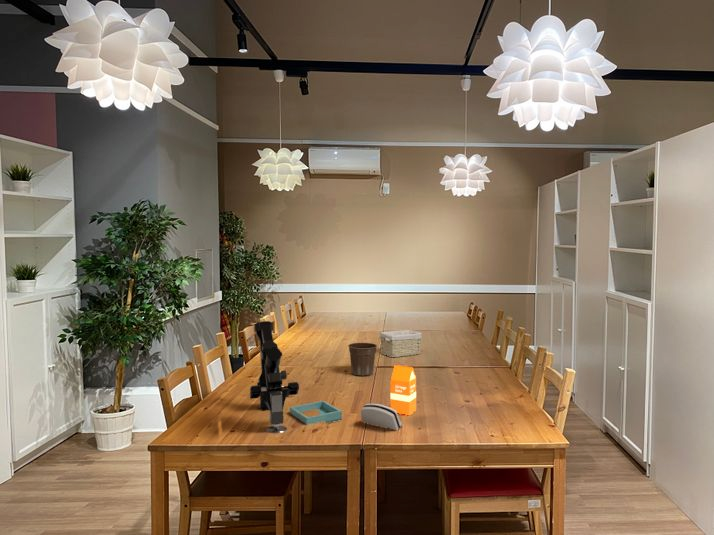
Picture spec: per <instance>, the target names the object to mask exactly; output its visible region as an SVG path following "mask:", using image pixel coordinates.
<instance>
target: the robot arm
mask: <svg viewBox="0 0 714 535" xmlns="http://www.w3.org/2000/svg"><path fill="white" fill-rule="evenodd" d="M273 331H274V322H272V321H269V320H266V321H265V320H264V321H262V320H261V321H256V323H253V332H254V334H255V338H256V339H257V340H258V342H259V353H260V354H259V355H260V369H261V370H260V371H261V373H260V374H259V377H258V380H257V381H258V382H256V385H251V386H250V387H249V399H251V400H252V399H253V400H255V399H260V400H259V404H258V405H257V408H258V407H259V408H258V409H260V410H261V409H262V410H261V411H266V410H267V411H268V409H269V412H270V411H272V409H271V402H270V393H274V392H281V394H282V410H284V407H285V402H286V399H287V398H289V396H294V395H298V394H299V391H300V390H299V389H300V386H299V382H298V381H292V382H288V383H287V385H286V386H282V385H283V380H286V379H287V378H288V377H287V370H281V371H280V366H281V364H280V363H281V359H282V356H283V352H281V350H280V348H279V347H278V344H277V343H276V342H275V341H274V339H273V338H274V337H273Z"/></svg>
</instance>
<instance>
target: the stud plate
mask: <svg viewBox="0 0 714 535" xmlns="http://www.w3.org/2000/svg"><path fill="white" fill-rule="evenodd" d="M287 430H288V428H287V427H286V425H281V424H274V425H271V426H268V427H267V428H265V431H266V432H267V433H269V434H280V433H284V432H286V431H287Z"/></svg>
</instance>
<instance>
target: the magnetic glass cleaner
mask: <svg viewBox="0 0 714 535" xmlns="http://www.w3.org/2000/svg"><path fill="white" fill-rule="evenodd" d="M360 415H361V416H360V418H361V423H362V422H365V423H368V424H367V425H370V424H373V425H372V426H374V425H378V426H382V427H381V428H383V427H386V428H385V429H387V428H390V429H389V430H391V429H394V430H393V431H396V430H398V429H399V430H400V428H402V427H401V426H403V423H402V422H401V420H400V417H399V414H397V411H396V410H394V409H392V408H391V406H387V405H384V404H381V403H366V404H365V405H363V407H361V409H360ZM365 423H364V424H365ZM378 426H377V427H378ZM399 430H398V431H399Z"/></svg>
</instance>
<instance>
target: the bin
mask: <svg viewBox="0 0 714 535" xmlns="http://www.w3.org/2000/svg"><path fill="white" fill-rule="evenodd" d="M312 410H316V411H318V413H319V414H318V415H313V416H308V415H305V414H304V413H302V412H307V411H312ZM342 412H343V411H342V410H341V409H339V408H337V407H336V406H335V405H334V406H333V405H332V404H330V403H328V402H327V401H325V400H320V401H315V402H311V403H310V402H309V403H305V404H300V405H295V406H290V407H289V414H290V415H292V416H293V417H294V418H296V419H298V420H299V421H301V422H302V423H304V424H305V425H307V426H309V425H312V424H317V423H321V422H325V423H326V424H327V423H329V422H333V421H338V420H342V421H343V413H342ZM338 422H339V421H338ZM333 423H334V422H333ZM329 424H330V423H329Z"/></svg>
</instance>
